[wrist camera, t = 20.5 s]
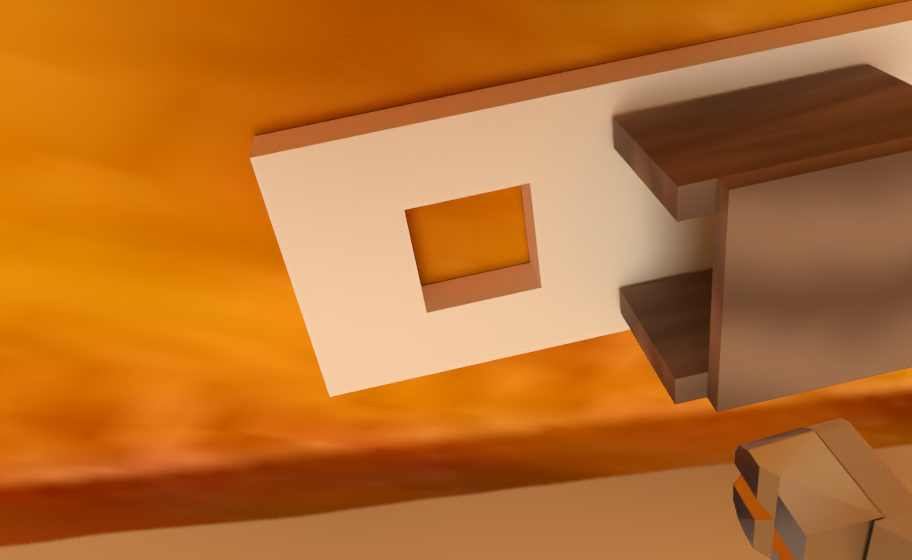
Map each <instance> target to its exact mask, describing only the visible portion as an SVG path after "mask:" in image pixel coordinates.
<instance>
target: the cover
mask: <svg viewBox="0 0 912 560" xmlns="http://www.w3.org/2000/svg"><path fill="white" fill-rule="evenodd" d="M613 130H614V149H615V150H616V151H617V152H618V153H619V155H620V156H621V157H622V158H623V159H624V160H625V162H626V163H627V164H628V165H629V166H630V167H631V169H632V170H633V171H634V172H635V173H636V174H637V176H638V177H639V178H640V179H641V180H642V181H643V183H644V184H645V185H646V186H647V187H648V188H649V190H650V191H651V192H652V193H653V194H654V195H655V197H656V198H657V199H658V200H659V201H660V202H661V204H662V205H663V206H664V207H665V208H666V209H667V211H668V212H669V213H670V214H671V215H672V216H673V218H674V219H675V220H676V221H677V222H679V221H684V220H688V219H693V218H698V217H702V216H707V215H711V214H715V230H714V253H713V269H712V270H708V271H703V272H698V273H694V274H689V275H685V276H680V277H676V278H671V279H667V280H662V281H658V282H653V283H649V284H644V285H640V286H635V287H631V288H626V289H622V290H620V308H621V314H622V316H623V318H624V319H625V321H626V323H627V324H628V326H629V328H630V329H631V331H632V333H633V335H634V336H635V338H636V340H637V341H638V343H639V345H640V346H641V348H642V350H643V351H644V353H645V355H646V356H647V358H648V360H649V361H650V363H651V365H652V366H653V368H654V370H655V372H656V373H657V375H658V377H659V378H660V380H661V382H662V383H663V385H664V387H665V388H666V390H667V392H668V393H669V395H670V397H671V398H672V400H673V402H674V403H675V404H679V403H683V402H687V401H692V400H696V399H700V398H705V397H707V398H708V399H709V401H710V402H711V404H712V405H713V407H714V408H715V410H716V411H717V412H720V411H724V410H728V409H733V408H737V407H741V406H746V405H750V404H754V403H759V402H763V401H767V400H772V399H776V398H780V397H785V396H789V395H793V394H798V393H802V392H806V391H811V390H815V389H819V388H824V387H828V386H832V385H837V384H841V383H845V382H850V381H854V380H858V379H863V378H867V377H871V376H876V375H880V374H884V373H889V372H893V371H897V370H902V369H906V368H910V367H912V85H911V84H909V83H907V82H905V81H902V80H900V79H898V78H896V77H894V76H892V75H890V74H888V73H886V72H884V71H882V70H879V69H877V68H875V67H873V66H871V65H869V64H865V65H861V66H856V67H851V68H846V69H842V70H837V71H832V72H827V73H823V74H818V75H813V76H808V77H804V78H799V79H794V80H789V81H785V82H780V83H775V84H770V85H766V86H761V87H756V88H751V89H747V90H742V91H737V92H732V93H728V94H723V95H718V96H713V97H709V98H704V99H699V100H694V101H690V102H685V103H680V104H675V105H671V106H666V107H661V108H656V109H652V110H647V111H642V112H637V113H633V114H628V115H623V116H618V117H614V118H613Z"/></svg>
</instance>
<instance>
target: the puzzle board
mask: <svg viewBox="0 0 912 560" xmlns="http://www.w3.org/2000/svg"><path fill="white" fill-rule="evenodd" d="M865 64H869V65H871V66H873V67H875V68H877V69H879V70H882V71H884V72H886V73H888V74H890V75H892V76H894V77H896V78H898V79H900V80H902V81H905V82H907V83H909V84H911V85H912V0H910V1H906V2H901V3H896V4H891V5H886V6H881V7H877V8H872V9H867V10H862V11H857V12H852V13H848V14H843V15H838V16H833V17H828V18H823V19H819V20H814V21H809V22H804V23H799V24H794V25H790V26H785V27H780V28H775V29H770V30H765V31H761V32H756V33H751V34H746V35H741V36H736V37H732V38H727V39H722V40H717V41H712V42H707V43H703V44H698V45H693V46H688V47H683V48H678V49H674V50H669V51H664V52H659V53H654V54H649V55H645V56H640V57H635V58H630V59H625V60H620V61H616V62H611V63H606V64H601V65H596V66H591V67H587V68H582V69H577V70H572V71H567V72H562V73H558V74H553V75H548V76H543V77H538V78H533V79H529V80H524V81H519V82H514V83H509V84H504V85H500V86H495V87H490V88H485V89H480V90H475V91H471V92H466V93H461V94H456V95H451V96H446V97H442V98H437V99H432V100H427V101H422V102H417V103H413V104H408V105H403V106H398V107H393V108H388V109H384V110H379V111H374V112H369V113H364V114H359V115H355V116H350V117H345V118H340V119H335V120H330V121H326V122H321V123H316V124H311V125H306V126H301V127H297V128H292V129H287V130H282V131H277V132H272V133H268V134H263V135H258V136H254V138H253V143H252V149H251V154H250V160H251V163H252V166H253V169H254V172H255V175H256V178H257V181H258V184H259V187H260V190H261V193H262V196H263V199H264V202H265V205H266V208H267V211H268V214H269V217H270V220H271V223H272V226H273V229H274V232H275V235H276V238H277V241H278V244H279V247H280V250H281V253H282V256H283V259H284V262H285V265H286V268H287V271H288V274H289V277H290V279H291V282H292V285H293V288H294V291H295V294H296V297H297V300H298V303H299V306H300V309H301V312H302V315H303V318H304V321H305V324H306V327H307V330H308V333H309V336H310V339H311V342H312V345H313V348H314V351H315V354H316V357H317V360H318V363H319V366H320V369H321V372H322V375H323V378H324V381H325V384H326V387H327V390H328V393H329V396H330V397H331V396H335V395H340V394H344V393H349V392H353V391H358V390H362V389H367V388H371V387H376V386H380V385H385V384H389V383H393V382H398V381H402V380H407V379H411V378H416V377H420V376H425V375H429V374H434V373H438V372H442V371H447V370H451V369H456V368H460V367H465V366H469V365H474V364H478V363H483V362H487V361H492V360H496V359H500V358H505V357H509V356H514V355H518V354H523V353H527V352H532V351H536V350H541V349H545V348H550V347H554V346H558V345H563V344H567V343H572V342H576V341H581V340H585V339H590V338H594V337H599V336H603V335H608V334H612V333H616V332H621V331H625V330H630V328H629V326H628V324H627V323H626V321H625V319H624V318H623V316H622V314H621V308H620V290H622V289H626V288H631V287H635V286H640V285H644V284H649V283H653V282H658V281H662V280H667V279H671V278H676V277H680V276H685V275H689V274H694V273H698V272H703V271H708V270H712V269H713V253H714V230H715V214H711V215H707V216H702V217H698V218H693V219H688V220H684V221H679V222H677V221H676V220H675V219H674V218H673V216H672V215H671V214H670V213H669V212H668V211H667V209H666V208H665V207H664V206H663V205H662V204H661V202H660V201H659V200H658V199H657V198H656V197H655V195H654V194H653V193H652V192H651V191H650V190H649V188H648V187H647V186H646V185H645V184H644V183H643V181H642V180H641V179H640V178H639V177H638V176H637V174H636V173H635V172H634V171H633V170H632V169H631V167H630V166H629V165H628V164H627V163H626V162H625V160H624V159H623V158H622V157H621V156H620V155H619V153H618V152H617V151H616V150H615V149H614V130H613V118H614V117H618V116H623V115H628V114H633V113H637V112H642V111H647V110H652V109H656V108H661V107H666V106H671V105H675V104H680V103H685V102H690V101H694V100H699V99H704V98H709V97H713V96H718V95H723V94H728V93H732V92H737V91H742V90H747V89H751V88H756V87H761V86H766V85H770V84H775V83H780V82H785V81H789V80H794V79H799V78H804V77H808V76H813V75H818V74H823V73H827V72H832V71H837V70H842V69H846V68H851V67H856V66H861V65H865ZM519 185H521V191H522V199H523V208H524V216H525V225H526V233H527V242H528V250H529V258H530V263H525V264H521V265H516V266H512V267H507V268H502V269H498V270H493V271H489V272H484V273H480V274H475V275H470V276H466V277H461V278H457V279H452V280H447V281H443V282H438V283H434V284H429V285H425V286H421V284H420V279H419V275H418V270H417V266H416V261H415V256H414V252H413V247H412V243H411V238H410V234H409V229H408V225H407V220H406V215H405V211H404V210H406V209H411V208H416V207H420V206H425V205H430V204H434V203H439V202H444V201H448V200H453V199H458V198H462V197H467V196H472V195H476V194H481V193H486V192H491V191H495V190H500V189H505V188H509V187H514V186H519Z"/></svg>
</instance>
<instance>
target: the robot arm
mask: <svg viewBox="0 0 912 560" xmlns="http://www.w3.org/2000/svg"><path fill="white" fill-rule="evenodd" d="M734 464H735V465H736V467H737V469H738V470H739V472H740V473H741V475H740V476H739V477H738V479H737V480H736V481H735V482H734V484H733V501H734V505H735V509H736V513H737V517H738V520H739V522H740V524H741V527H742V529H743V531H744V533H745V535H746V537H747V539H748V540H749V542H750V544H751V546H752V547H753V548H754V549H755V550H757V551H759V552H760V553H762V554H764V555H766V556H767V557H769V558H771V560H912V493H910V491H909V490H908V489H907V488H906V487H905V485H904V484H903V483H902V482H901V481H900V480H899V479H898V477H897V476H896V475H895V474H894V473H893V472H892V471H891V469H890V468H889V467H888V466H887V465H886V464H885V463H884V461H883V460H882V459H881V458H880V457H879V456H878V455H877V454H876V452H875V451H874V450H873V449H872V448H871V447H870V445H869V444H868V443H867V442H866V441H865V440H864V439H863V437H862V436H861V435H860V434H859V433H858V432H857V430H856V429H855V428H854V427H853V426H852V425H851V424H850V423H849V422H847V421H845V420H844V419H842V418H841V419H835V420H832V421H828V422H824V423H821V424H817V425H814V426H810V427H807V428H803V427H802V428H799V429H795V430H791V431H788V432H784V433H781V434H777V435H773V436H770V437H766V438H763V439H759V440H755V441H752V442H748V443H745V444H741V445H739V446H738V447H737V449H736V450H735V458H734Z"/></svg>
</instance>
